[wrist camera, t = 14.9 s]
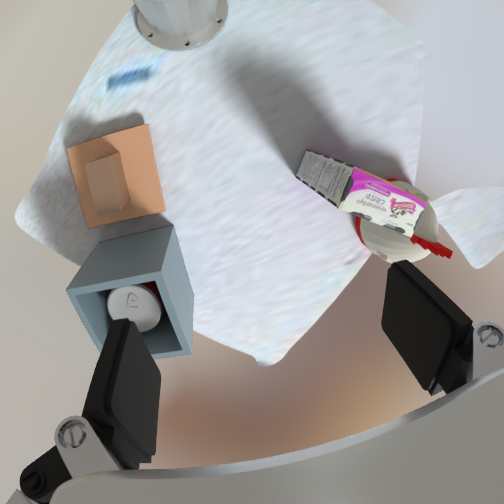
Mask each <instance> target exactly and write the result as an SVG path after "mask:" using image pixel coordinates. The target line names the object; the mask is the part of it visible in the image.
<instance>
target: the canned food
mask: <svg viewBox="0 0 504 504" xmlns="http://www.w3.org/2000/svg"><path fill="white" fill-rule="evenodd" d="M107 306H108V311H109V314H110V316H111V317H112V319H113V320H116V319H123V318H128V319H129V320H130V321H134V322H135V324H136V326H137V328H138V330H139V332H145V331H148V330H151V329H152V328H154V327H155V326H156V325H157V324H158V322H159V320H160V317H161V313H162V308H163V300H162V298H161V295H160V292H159V289H158V287H157V284H156V281H149V282H144V283H139V284H134V285H128V286H123V287H118V288H113V289H111V292H110V294H109V297H108V302H107Z"/></svg>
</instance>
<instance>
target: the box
mask: <svg viewBox="0 0 504 504" xmlns="http://www.w3.org/2000/svg"><path fill="white" fill-rule="evenodd" d="M149 281H156V284H157V287H158V289H159V292H160V295H161V298H162V300H163V308H162V313H161V317H160V320H159V322H158V324H157V325H156V326H155V327H154V328H152V329H151V330H148V331H145V332H140V334H141V336H142V338H143V340H144V342H145V344H146V346H147V348H148V350H149V352H150V354H151V356H152V357H153V359H161V358H168V357H176V356H183V355H190V354H192V336H193V335H192V334H193V332H192V331H193V308H194V294H193V290H192V287H191V284H190V281H189V277H188V274H187V271H186V267H185V264H184V260H183V257H182V253H181V250H180V246H179V243H178V239H177V235H176V232H175V228H174V225H172V226H168V227H163V228H159V229H154V230H150V231H146V232H141V233H137V234H133V235H128V236H124V237H120V238H116V239H112V240H108V241H104V242H99V243H98V245H97V246H96V247H95V249H94V250H93V251H92V253H91V254H90V255H89V257H88V258H87V260H86V261H85V262H84V264H83V265H82V267H81V268H80V269H79V271H78V272H77V274H76V275H75V277H74V278H73V280H72V281H71V283H70V284H69V286H68V287H67V289H66V292H67V294H68V295H69V298H70V300H71V302H72V304H73V306H74V308H75V309H76V311H77V313H78V315H79V317H80V319H81V321H82V323H83V324H84V326H85V328H86V330H87V331H88V333H89V335H90V337H91V338H92V340H93V342H94V344H95V345H96V347H97V348H98V350H99V351H100V353H101V351H102V348H103V345H104V342H105V339H106V336H107V333H108V331H109V328H110V325H111V322H112V321H113V319H112V317H111V316H110V314H109V311H108V306H107V302H108V297H109V294H110V292H111V289H113V288H118V287H123V286H128V285H134V284H139V283H144V282H149Z"/></svg>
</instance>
